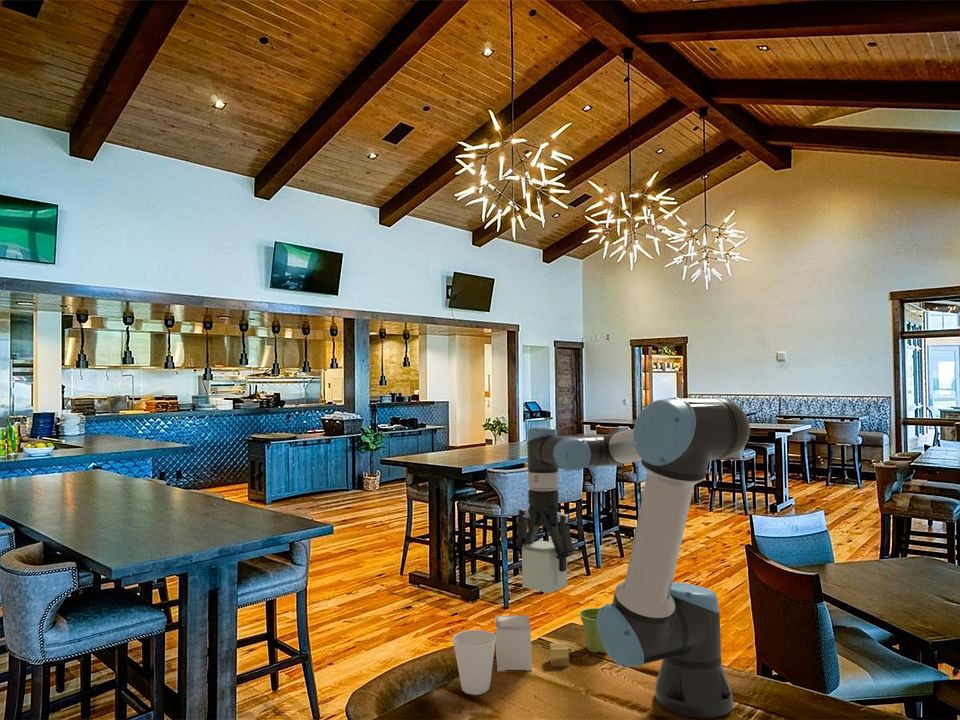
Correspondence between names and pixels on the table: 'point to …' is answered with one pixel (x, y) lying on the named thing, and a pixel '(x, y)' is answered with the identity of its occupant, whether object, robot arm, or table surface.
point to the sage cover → (540, 567)
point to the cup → (475, 659)
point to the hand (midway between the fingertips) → (544, 580)
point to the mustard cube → (559, 654)
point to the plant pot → (591, 630)
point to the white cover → (513, 643)
